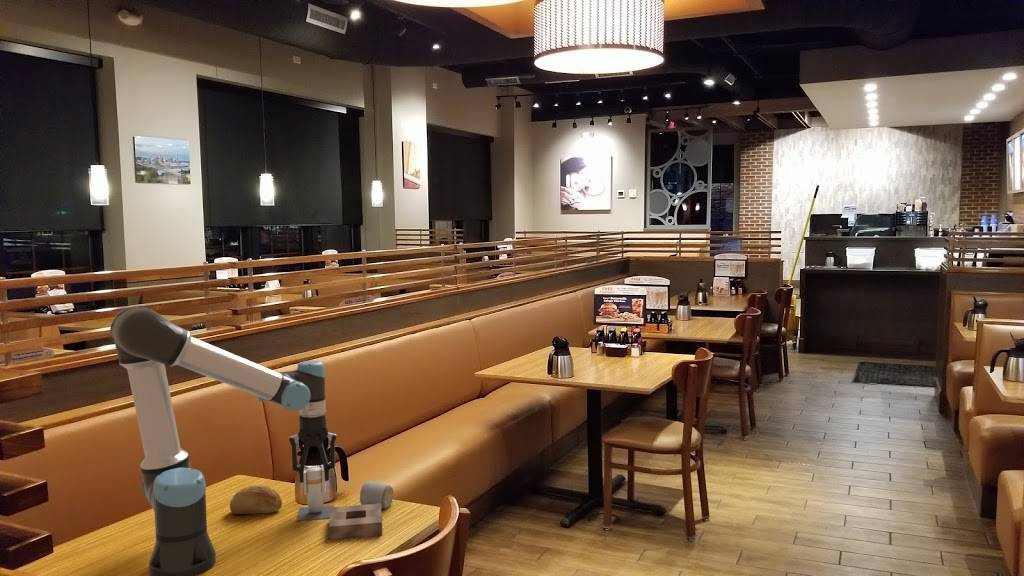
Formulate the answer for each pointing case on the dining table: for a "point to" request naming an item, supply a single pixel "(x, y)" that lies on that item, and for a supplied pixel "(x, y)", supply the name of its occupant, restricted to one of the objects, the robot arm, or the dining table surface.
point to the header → (355, 522)
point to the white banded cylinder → (314, 489)
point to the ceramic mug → (376, 494)
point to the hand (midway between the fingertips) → (314, 492)
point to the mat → (314, 514)
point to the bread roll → (255, 500)
